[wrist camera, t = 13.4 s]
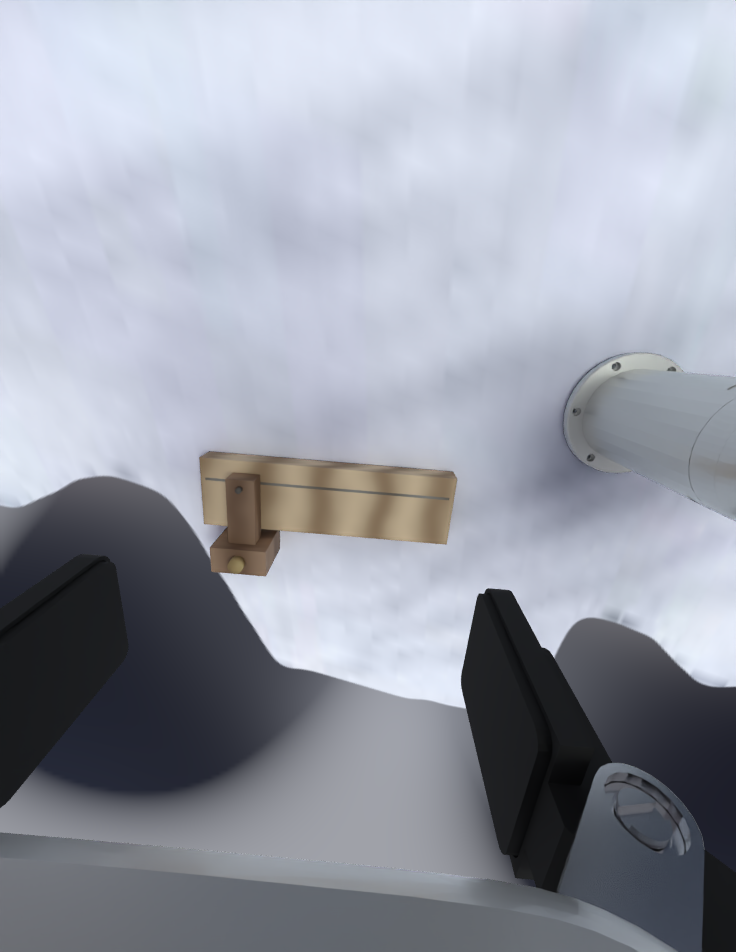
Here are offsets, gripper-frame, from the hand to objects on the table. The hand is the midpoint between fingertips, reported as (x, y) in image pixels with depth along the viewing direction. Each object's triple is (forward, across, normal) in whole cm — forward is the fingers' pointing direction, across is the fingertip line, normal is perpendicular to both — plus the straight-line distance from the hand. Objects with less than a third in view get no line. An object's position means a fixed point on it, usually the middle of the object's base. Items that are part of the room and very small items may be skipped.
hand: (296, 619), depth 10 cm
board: (+33, +3, +10) cm, 35 cm away
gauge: (+33, +12, +13) cm, 38 cm away
